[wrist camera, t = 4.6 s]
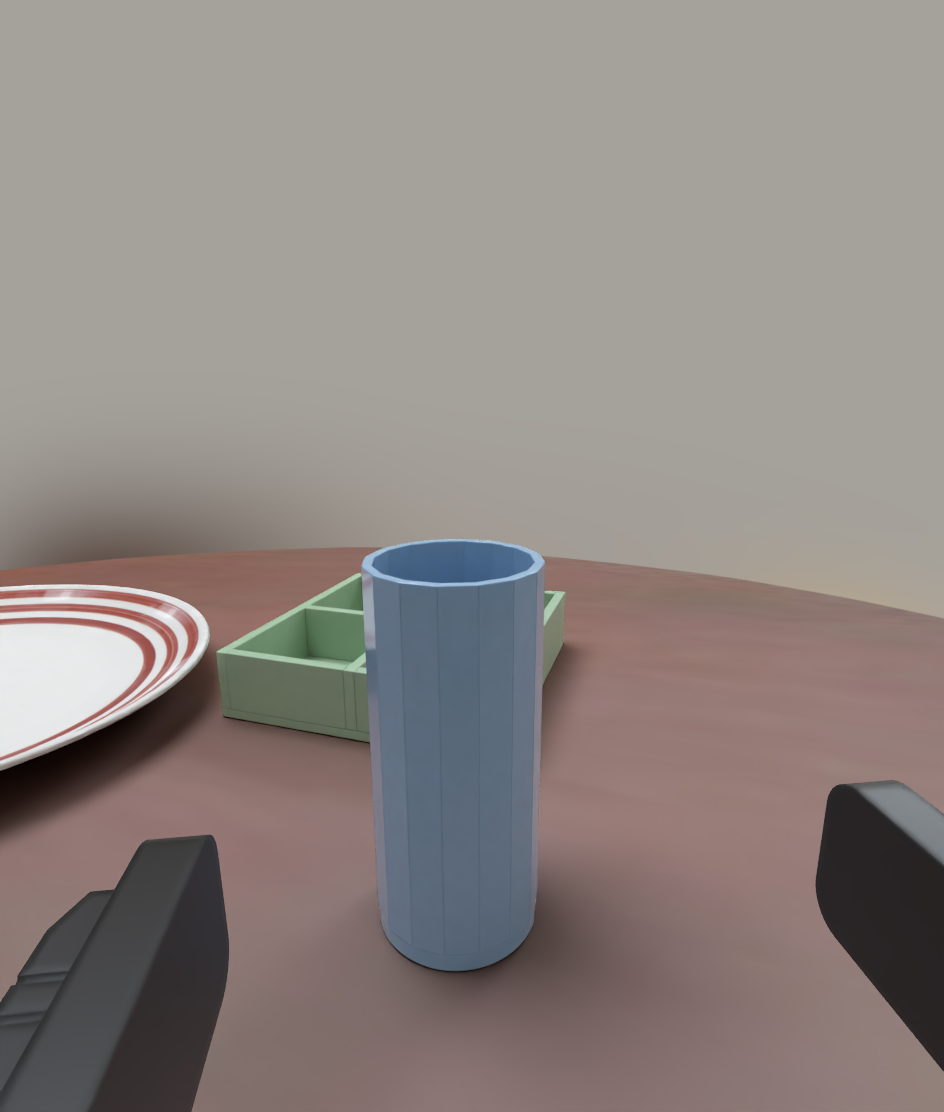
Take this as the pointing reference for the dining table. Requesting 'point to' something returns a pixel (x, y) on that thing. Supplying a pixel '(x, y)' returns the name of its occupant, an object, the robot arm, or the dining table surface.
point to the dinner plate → (86, 660)
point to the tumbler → (455, 745)
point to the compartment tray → (323, 664)
